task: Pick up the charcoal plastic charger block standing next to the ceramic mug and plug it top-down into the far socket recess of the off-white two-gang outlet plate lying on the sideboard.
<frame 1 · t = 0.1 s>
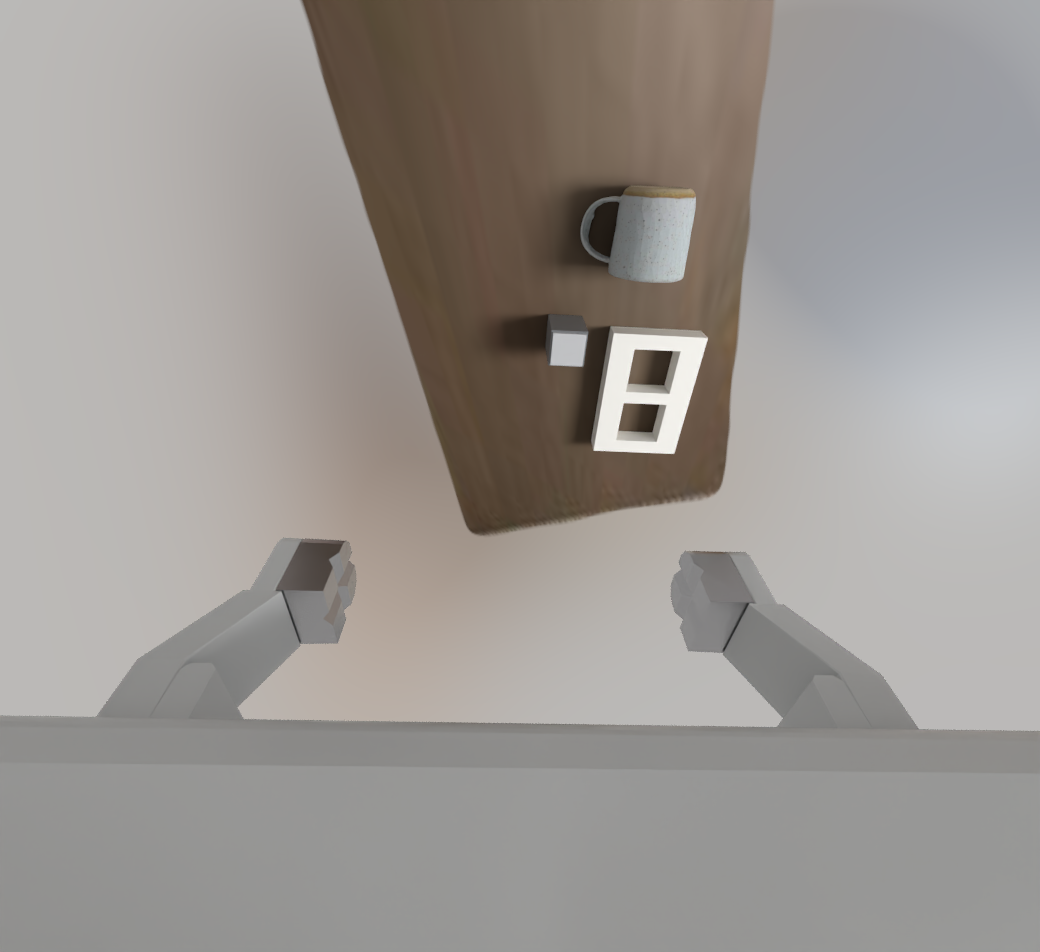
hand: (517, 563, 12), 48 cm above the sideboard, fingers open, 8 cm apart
ceramic mug: (630, 230, 51), on the sideboard
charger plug: (563, 331, 57), on the sideboard
outlet plate: (642, 389, 61), on the sideboard
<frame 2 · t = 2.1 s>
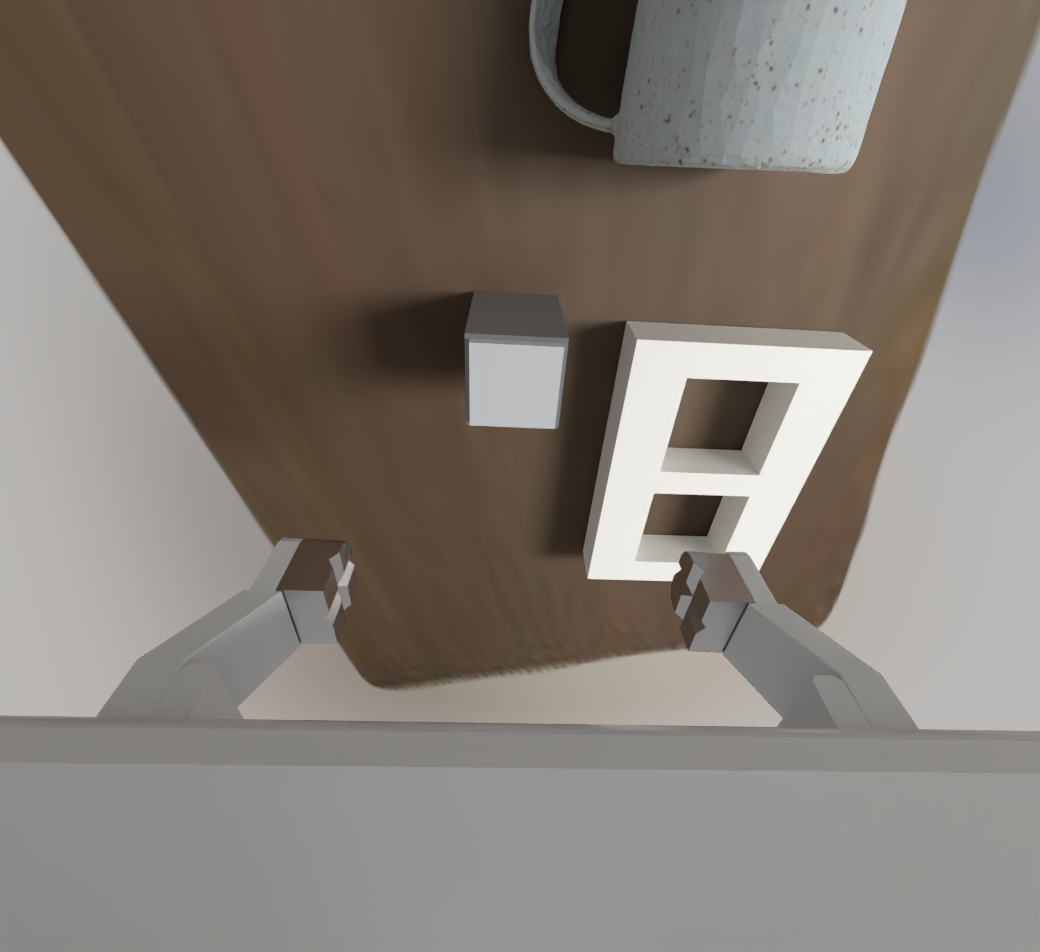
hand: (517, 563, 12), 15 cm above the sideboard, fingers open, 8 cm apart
ceramic mug: (676, 44, 18), on the sideboard
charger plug: (514, 334, 24), on the sideboard
outlet plate: (692, 458, 28), on the sideboard
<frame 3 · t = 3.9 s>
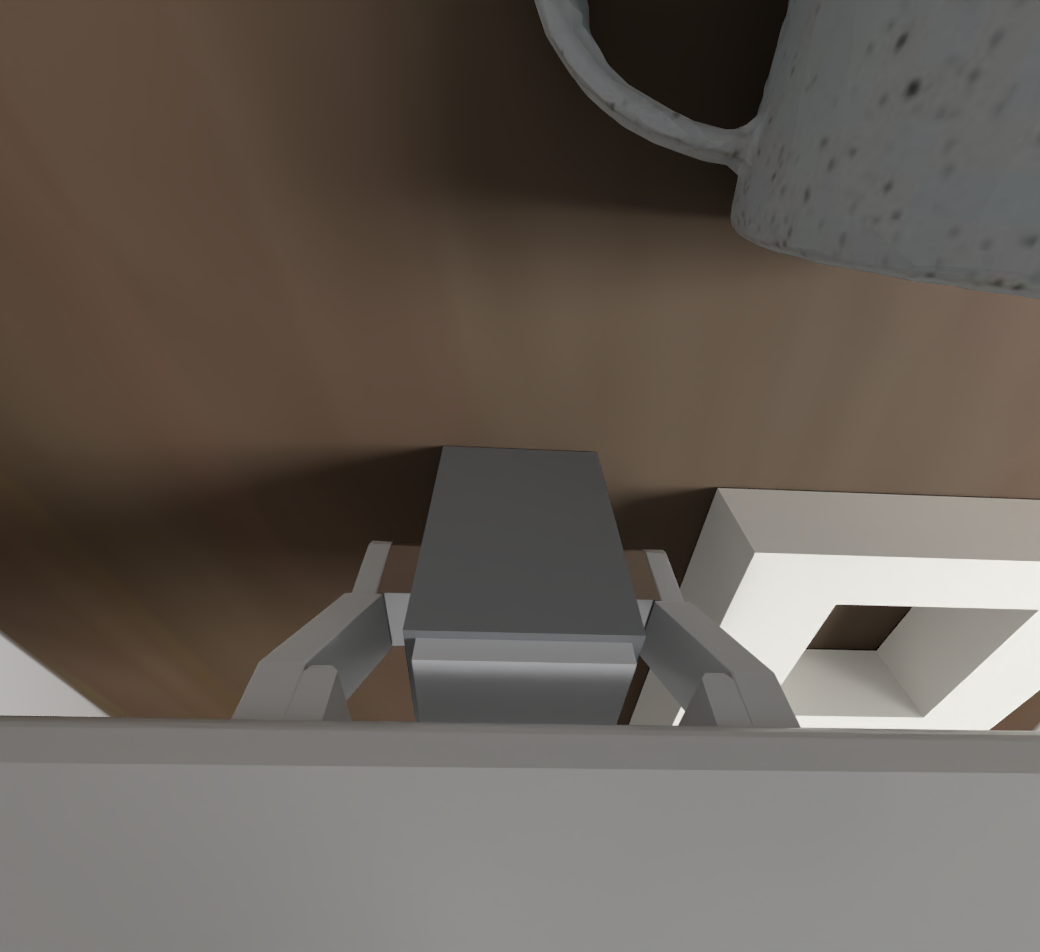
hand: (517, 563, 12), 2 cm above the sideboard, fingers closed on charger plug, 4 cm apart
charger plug: (516, 508, 13), on the sideboard, touching gripper
outlet plate: (796, 660, 18), on the sideboard
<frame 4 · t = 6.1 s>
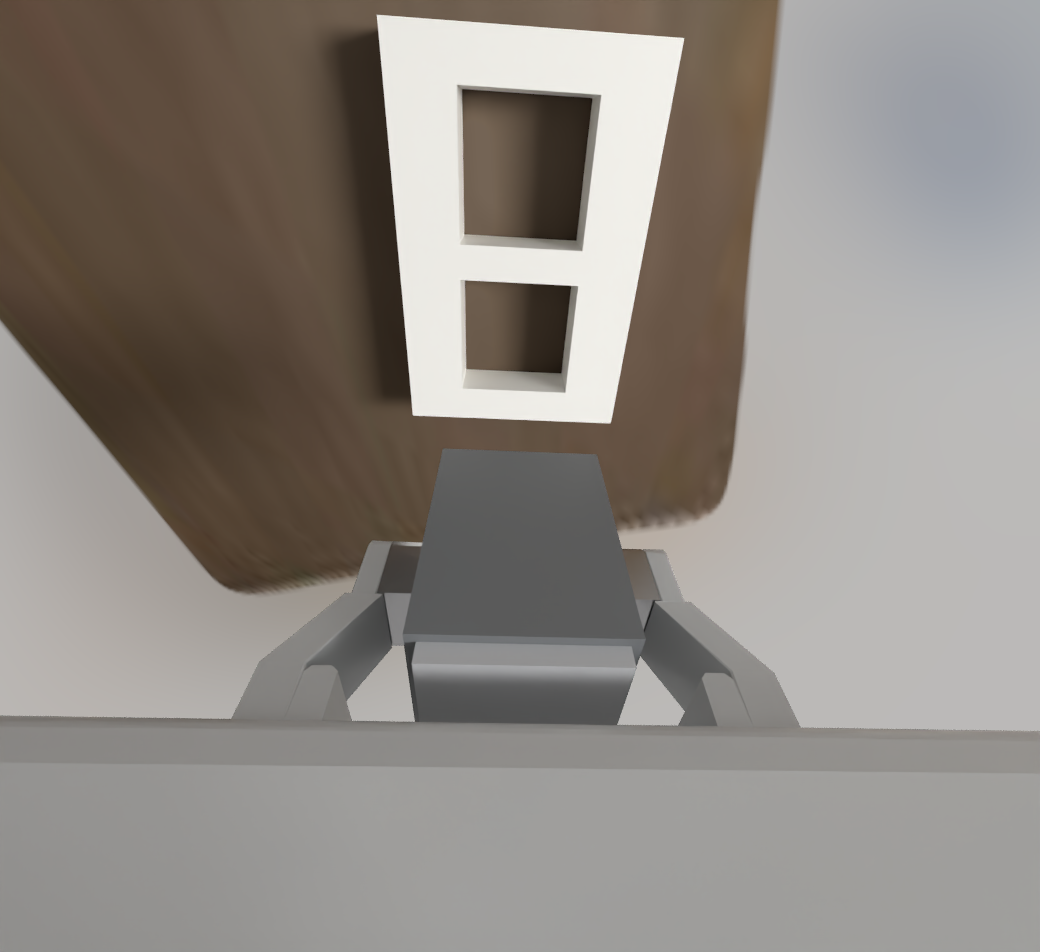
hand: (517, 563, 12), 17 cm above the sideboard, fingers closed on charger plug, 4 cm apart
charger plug: (516, 510, 13), point 15 cm above the sideboard, touching gripper
outlet plate: (519, 254, 24), on the sideboard
when the fingers open (4 cm above the sideboard, at t = 8.2 s): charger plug drops 2 cm, resting in outlet plate.
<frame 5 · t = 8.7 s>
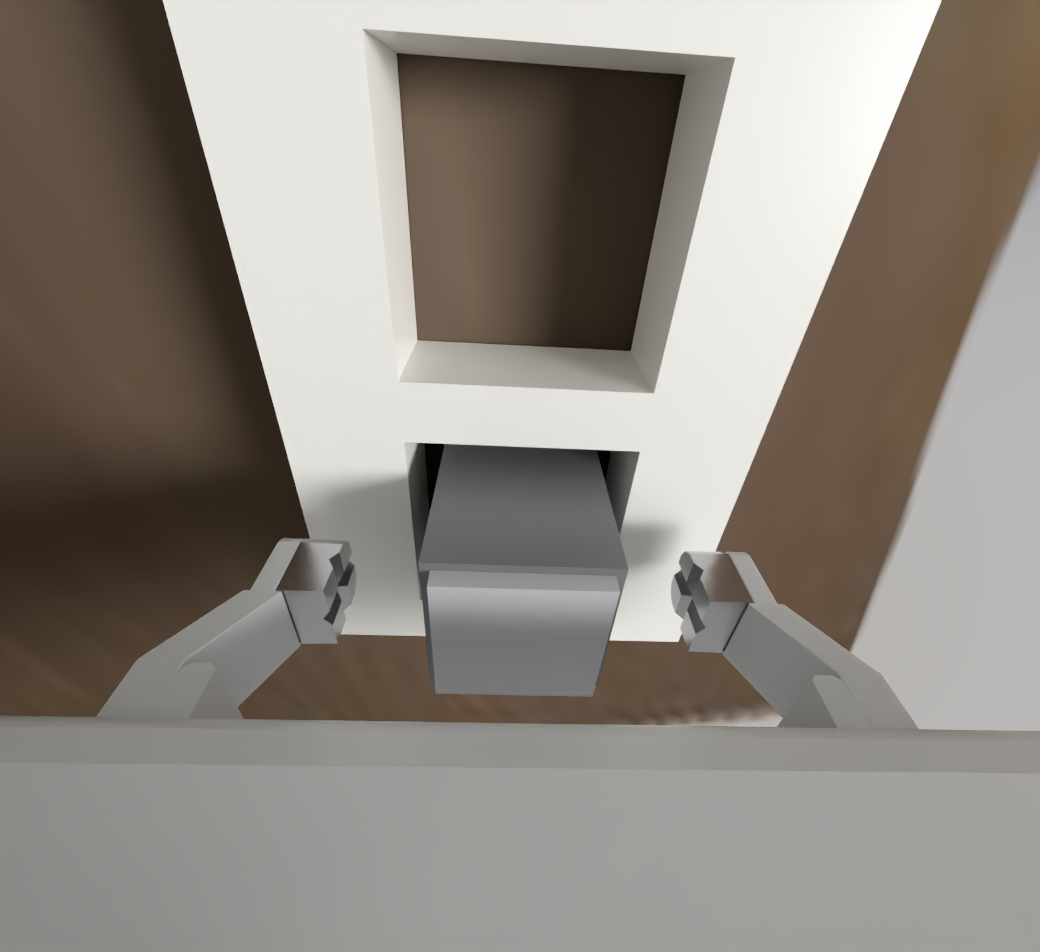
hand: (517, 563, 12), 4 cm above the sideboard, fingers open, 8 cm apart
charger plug: (516, 478, 15), resting in outlet plate
outlet plate: (523, 373, 13), on the sideboard
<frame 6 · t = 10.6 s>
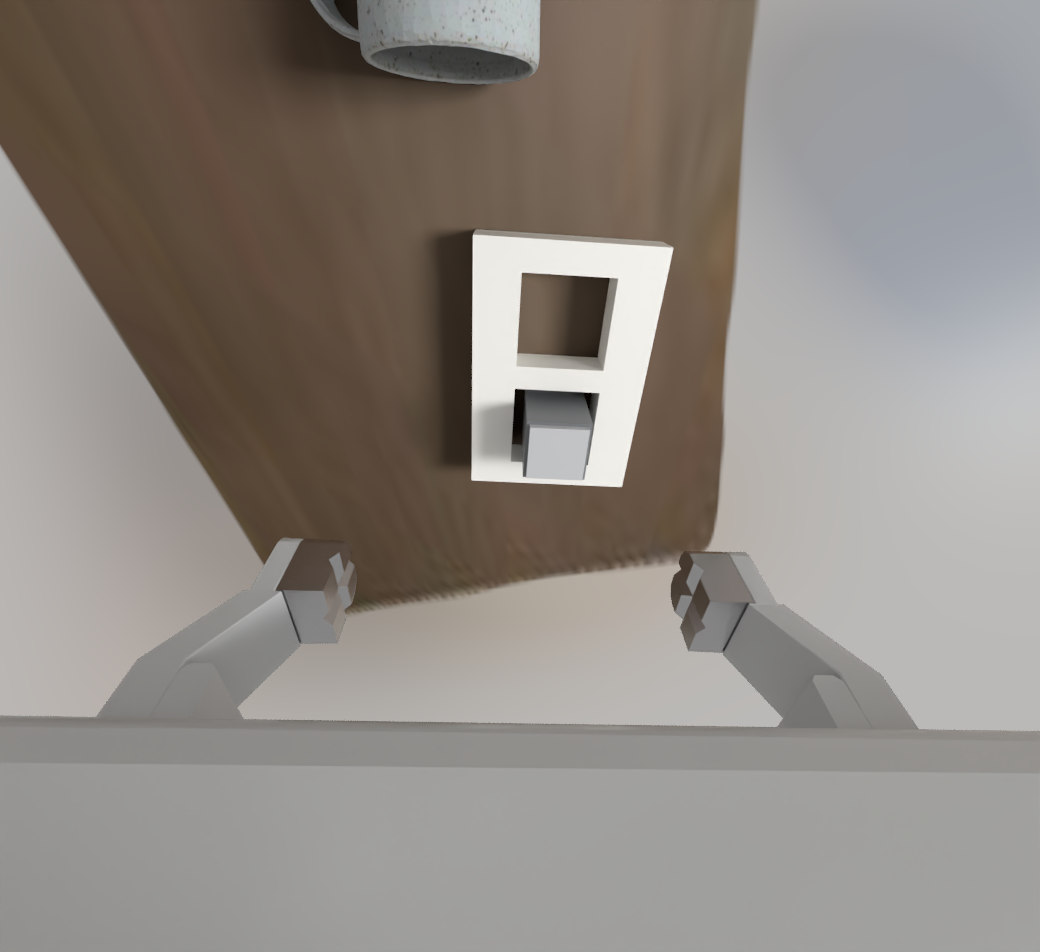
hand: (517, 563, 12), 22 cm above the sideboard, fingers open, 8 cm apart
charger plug: (550, 412, 34), resting in outlet plate
outlet plate: (555, 366, 32), on the sideboard
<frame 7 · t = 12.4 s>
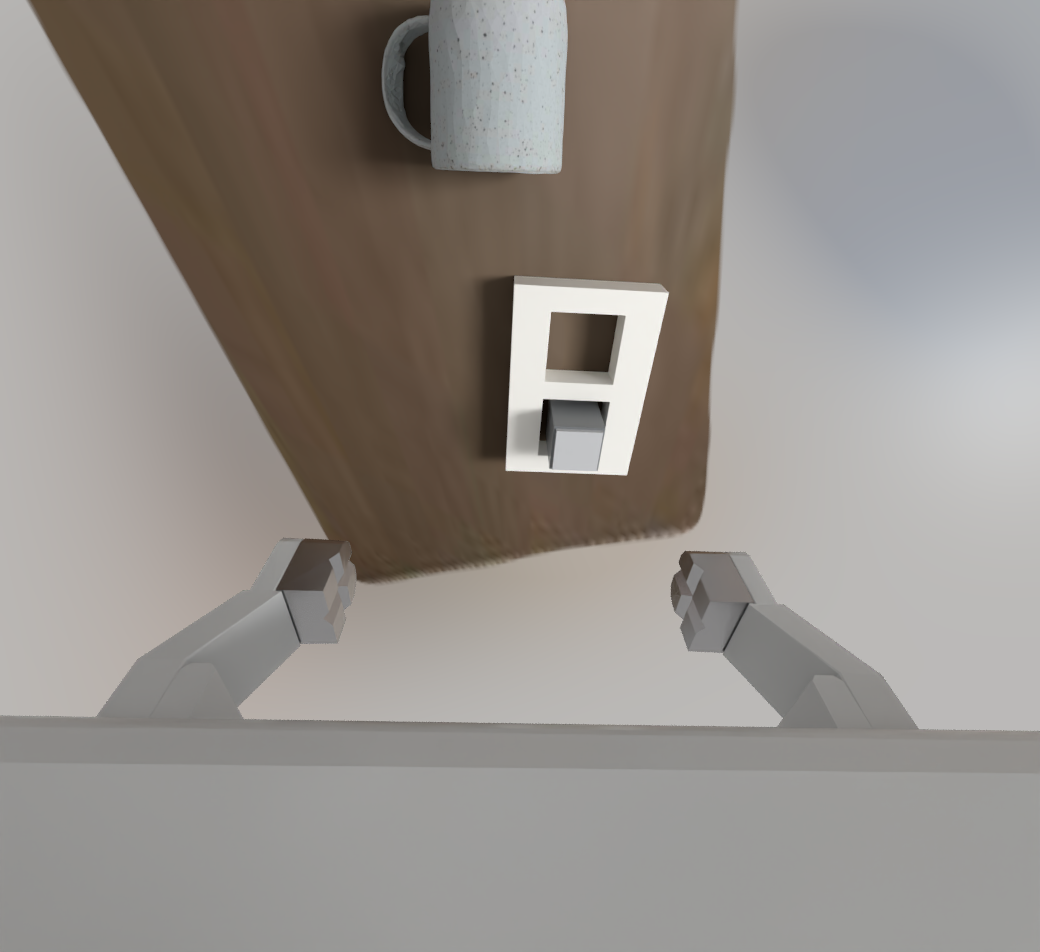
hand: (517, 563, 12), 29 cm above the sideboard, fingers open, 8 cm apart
ceramic mug: (477, 98, 29), on the sideboard
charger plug: (569, 415, 42), resting in outlet plate
outlet plate: (574, 378, 40), on the sideboard
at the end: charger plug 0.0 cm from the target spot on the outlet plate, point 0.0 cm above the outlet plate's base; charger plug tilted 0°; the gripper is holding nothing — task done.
